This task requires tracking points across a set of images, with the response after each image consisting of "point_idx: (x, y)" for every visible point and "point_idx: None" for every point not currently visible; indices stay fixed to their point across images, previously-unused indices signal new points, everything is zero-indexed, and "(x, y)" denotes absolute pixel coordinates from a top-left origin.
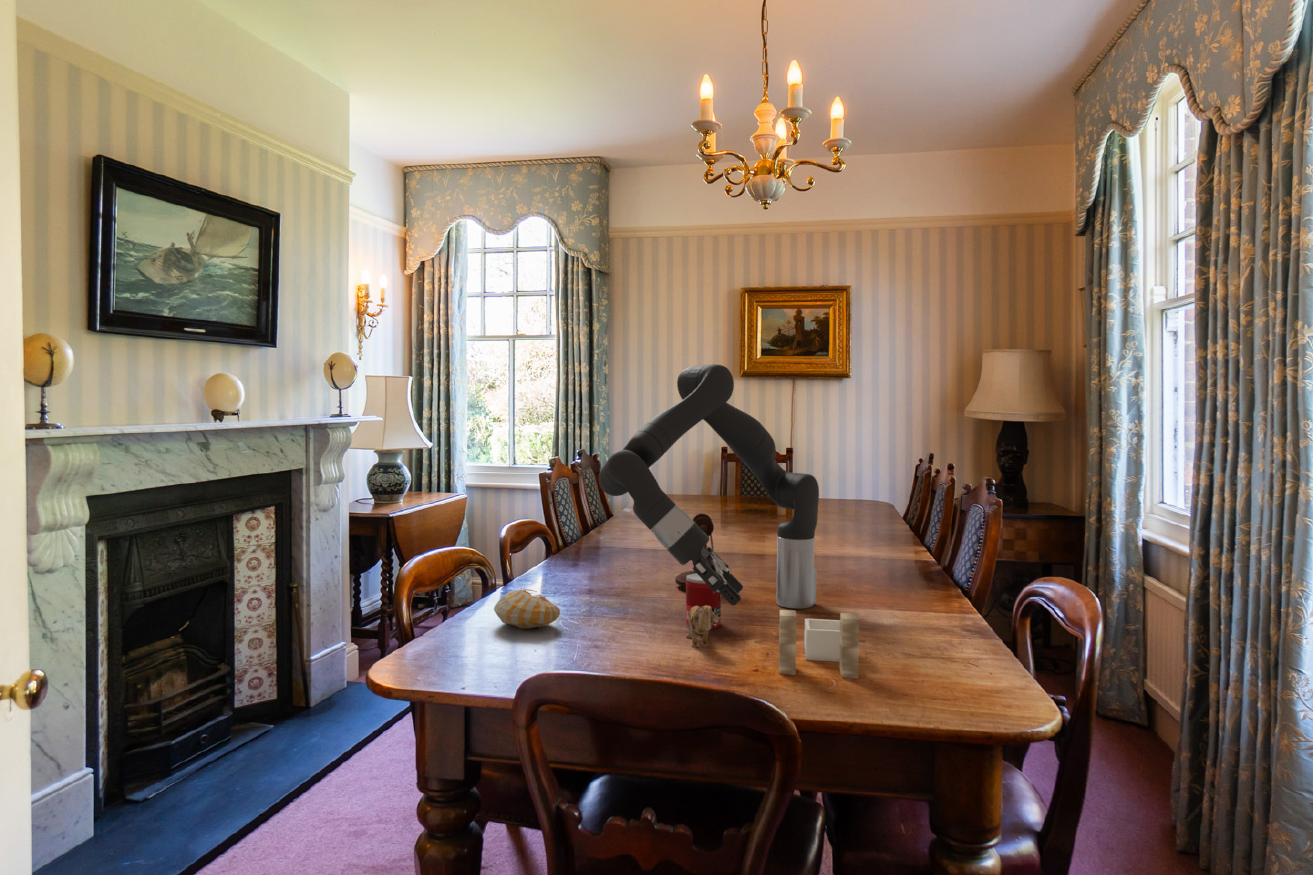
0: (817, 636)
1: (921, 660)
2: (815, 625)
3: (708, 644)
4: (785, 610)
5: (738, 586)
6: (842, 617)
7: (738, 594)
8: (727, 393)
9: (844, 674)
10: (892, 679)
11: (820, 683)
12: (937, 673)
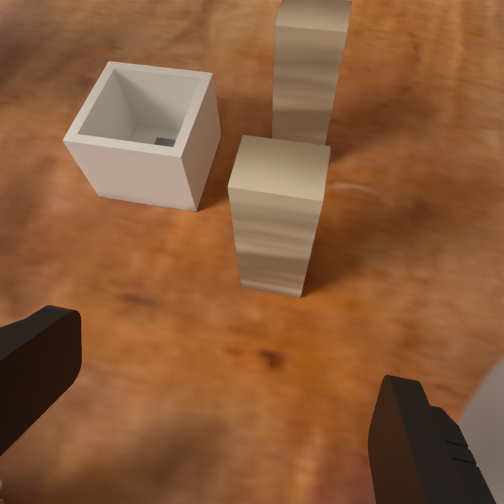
0: (193, 146)
1: (219, 28)
2: (93, 131)
3: (2, 500)
4: (241, 168)
5: (58, 341)
6: (332, 30)
7: (400, 392)
8: None
9: None
10: None
11: (362, 215)
12: None
